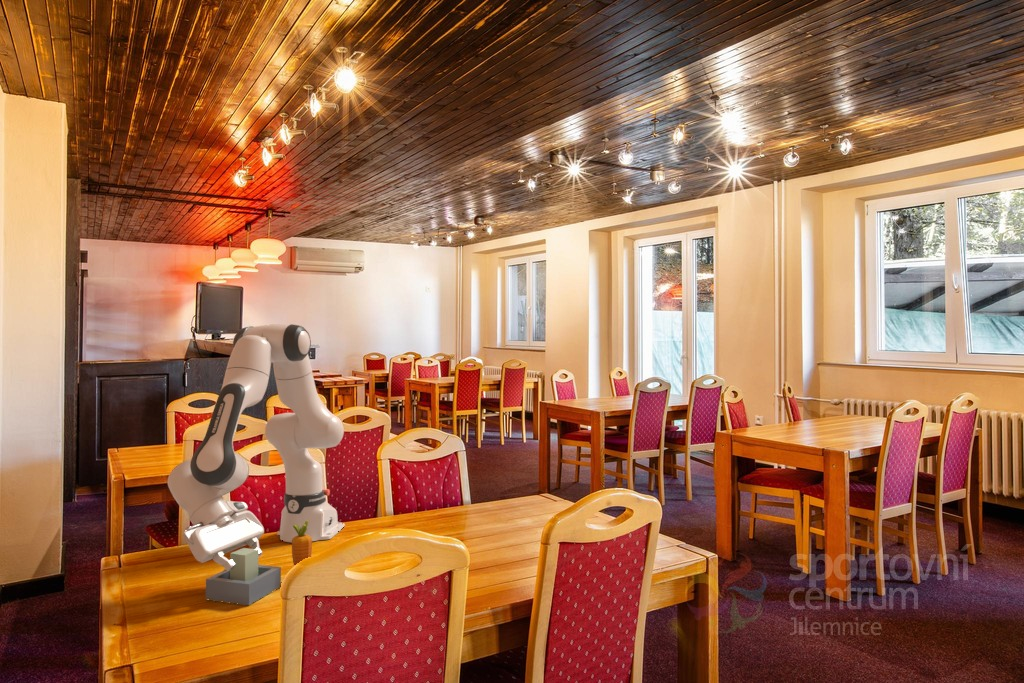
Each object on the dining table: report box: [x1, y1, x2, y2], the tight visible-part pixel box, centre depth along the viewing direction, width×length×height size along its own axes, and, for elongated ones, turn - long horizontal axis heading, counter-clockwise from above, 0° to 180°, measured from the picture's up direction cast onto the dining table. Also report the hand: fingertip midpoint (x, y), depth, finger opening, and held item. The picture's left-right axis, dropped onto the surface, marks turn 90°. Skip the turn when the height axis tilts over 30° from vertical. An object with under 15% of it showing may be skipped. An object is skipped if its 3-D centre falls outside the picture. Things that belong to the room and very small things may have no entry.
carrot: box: [291, 520, 313, 566], centre depth 166 cm, size 5×5×15 cm
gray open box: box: [205, 564, 282, 606], centre depth 156 cm, size 12×12×5 cm
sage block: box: [229, 547, 259, 581], centre depth 156 cm, size 4×4×9 cm
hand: (245, 562), depth 156 cm, fingers open, 8 cm apart
